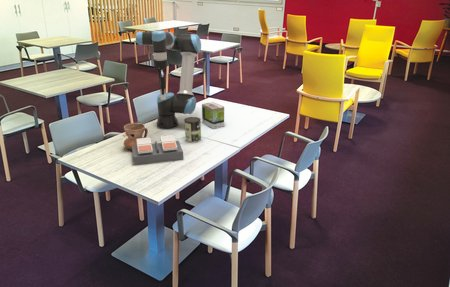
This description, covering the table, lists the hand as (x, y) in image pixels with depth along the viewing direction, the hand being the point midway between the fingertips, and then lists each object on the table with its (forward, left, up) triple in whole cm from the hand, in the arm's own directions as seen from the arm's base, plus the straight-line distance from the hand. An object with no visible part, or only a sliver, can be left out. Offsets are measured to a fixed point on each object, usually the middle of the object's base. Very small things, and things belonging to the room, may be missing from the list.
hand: (163, 99), depth 219 cm
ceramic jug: (-3, -18, -31) cm, 36 cm away
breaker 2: (+14, 0, -22) cm, 26 cm away
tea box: (-28, +37, -31) cm, 56 cm away
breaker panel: (+14, -7, -30) cm, 34 cm away
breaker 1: (+14, -14, -22) cm, 30 cm away
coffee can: (-5, +18, -31) cm, 36 cm away
